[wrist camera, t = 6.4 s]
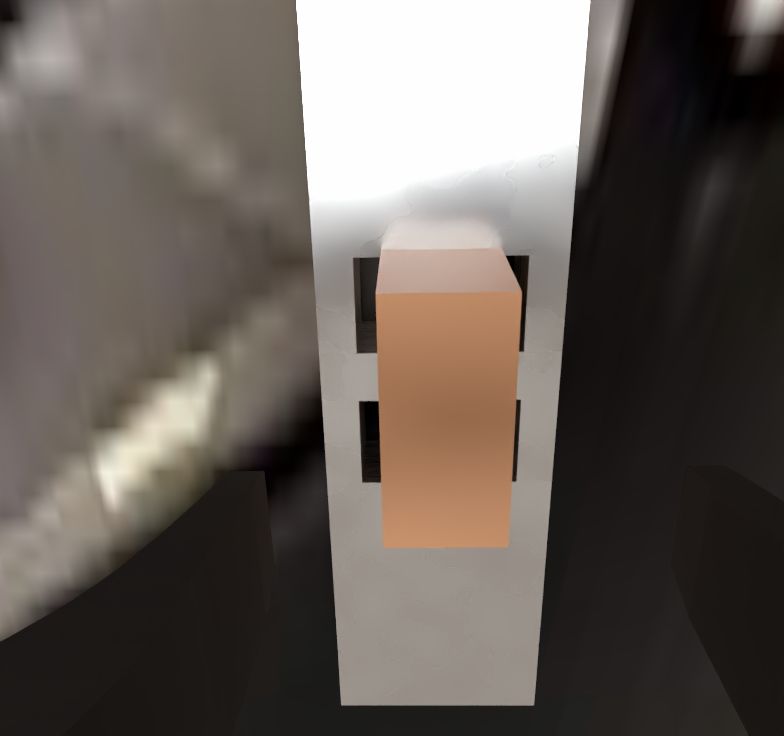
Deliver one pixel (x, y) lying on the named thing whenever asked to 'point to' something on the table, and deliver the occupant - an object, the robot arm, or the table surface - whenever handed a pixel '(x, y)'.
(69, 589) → the table surface
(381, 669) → the rail
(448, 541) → the orange block
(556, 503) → the table surface
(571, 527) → the table surface
